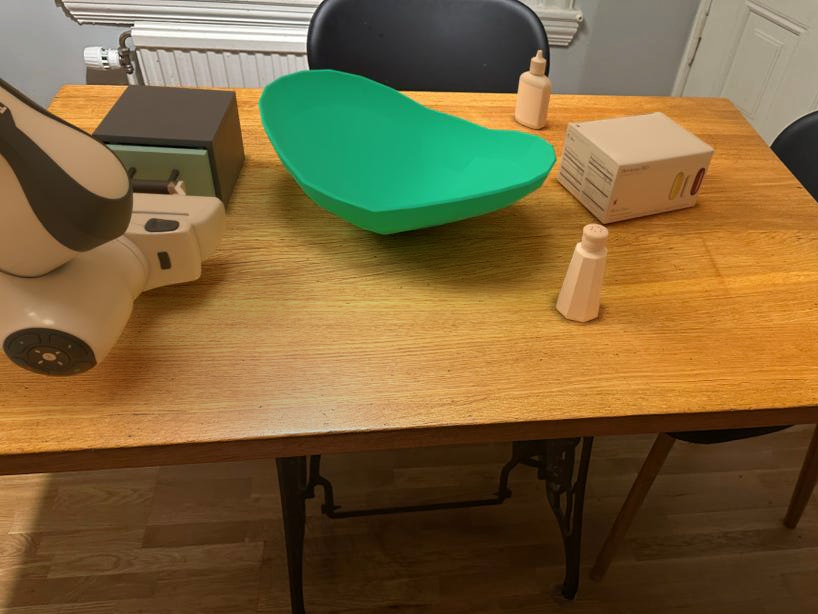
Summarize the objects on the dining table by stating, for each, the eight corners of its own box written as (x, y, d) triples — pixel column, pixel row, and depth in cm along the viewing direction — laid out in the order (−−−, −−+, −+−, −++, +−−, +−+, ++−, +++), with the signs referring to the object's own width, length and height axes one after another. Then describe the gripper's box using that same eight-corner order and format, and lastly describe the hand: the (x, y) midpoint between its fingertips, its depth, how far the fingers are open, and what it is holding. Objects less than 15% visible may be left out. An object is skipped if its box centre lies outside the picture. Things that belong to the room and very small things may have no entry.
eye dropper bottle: (523, 131, 116) (533, 57, 108) (512, 116, 120) (521, 44, 112) (547, 129, 118) (559, 57, 109) (535, 115, 121) (546, 44, 113)
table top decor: (217, 208, 91) (198, 110, 82) (348, 135, 110) (345, 48, 100) (478, 324, 79) (490, 223, 70) (576, 220, 97) (596, 130, 88)
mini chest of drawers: (224, 211, 91) (211, 141, 84) (113, 206, 89) (91, 134, 83) (245, 157, 101) (235, 91, 95) (146, 152, 100) (129, 84, 93)
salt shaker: (592, 293, 85) (612, 215, 78) (605, 322, 81) (628, 243, 74) (549, 294, 84) (566, 216, 77) (561, 323, 80) (579, 244, 73)
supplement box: (603, 226, 97) (619, 165, 90) (555, 181, 105) (566, 121, 99) (697, 207, 103) (717, 148, 97) (644, 165, 111) (660, 108, 105)
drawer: (207, 233, 85) (195, 174, 80) (99, 228, 84) (79, 168, 78) (236, 160, 99) (227, 106, 93) (143, 155, 97) (129, 100, 92)
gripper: (12, 272, 73) (61, 203, 83) (214, 280, 75) (238, 212, 85) (-12, 220, 68) (43, 154, 78) (204, 230, 71) (231, 164, 81)
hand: (146, 184), depth 82 cm, fingers closed on drawer, 6 cm apart
